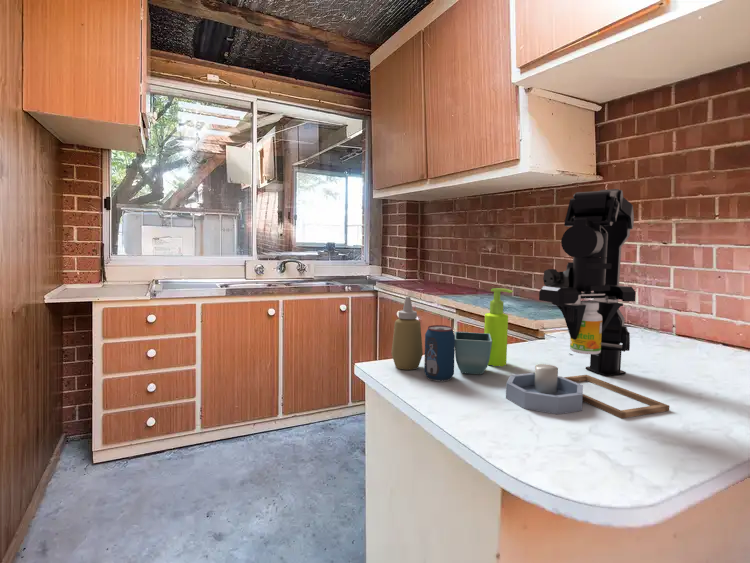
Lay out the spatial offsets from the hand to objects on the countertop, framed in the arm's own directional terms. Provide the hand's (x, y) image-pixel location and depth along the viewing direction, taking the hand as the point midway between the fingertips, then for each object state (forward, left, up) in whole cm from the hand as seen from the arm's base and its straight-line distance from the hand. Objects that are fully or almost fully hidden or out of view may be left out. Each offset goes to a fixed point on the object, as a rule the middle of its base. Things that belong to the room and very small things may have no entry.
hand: (585, 338), depth 82 cm
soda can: (+19, -24, -14) cm, 33 cm away
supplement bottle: (0, 0, -3) cm, 3 cm away
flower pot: (+9, -26, -14) cm, 30 cm away
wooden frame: (-8, -3, -13) cm, 16 cm away
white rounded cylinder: (+3, -7, -13) cm, 15 cm away
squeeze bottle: (+23, -34, -14) cm, 43 cm away
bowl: (+5, -5, -13) cm, 15 cm away
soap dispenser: (-1, -30, -14) cm, 33 cm away
